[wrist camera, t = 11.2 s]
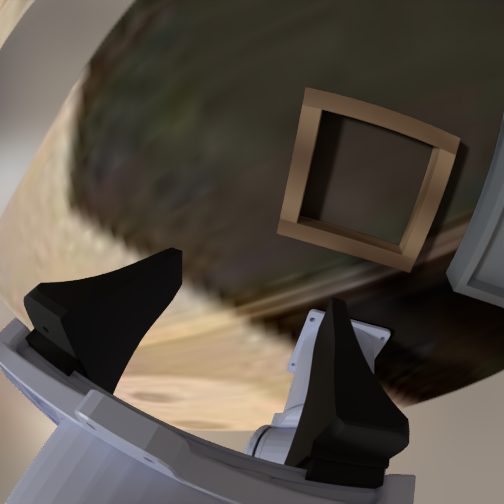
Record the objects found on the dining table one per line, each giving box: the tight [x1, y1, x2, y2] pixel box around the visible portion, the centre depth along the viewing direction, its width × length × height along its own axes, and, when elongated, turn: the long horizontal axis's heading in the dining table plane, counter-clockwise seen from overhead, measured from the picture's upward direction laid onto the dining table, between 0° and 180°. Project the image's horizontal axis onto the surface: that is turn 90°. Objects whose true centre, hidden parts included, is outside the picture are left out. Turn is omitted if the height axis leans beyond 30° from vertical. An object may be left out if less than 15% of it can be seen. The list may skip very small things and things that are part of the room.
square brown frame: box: [277, 87, 460, 273], centre depth 18 cm, size 10×10×2 cm
